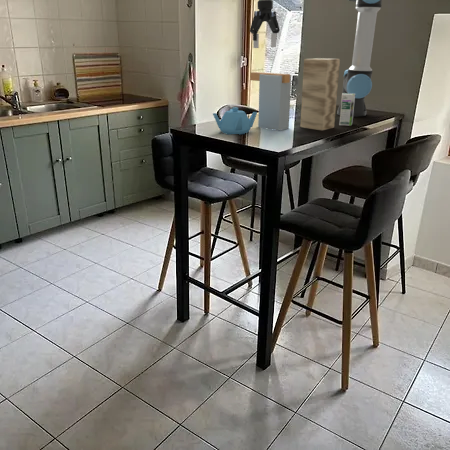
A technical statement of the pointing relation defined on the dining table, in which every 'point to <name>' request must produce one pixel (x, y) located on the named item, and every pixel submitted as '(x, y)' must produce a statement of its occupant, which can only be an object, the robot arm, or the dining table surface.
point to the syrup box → (347, 109)
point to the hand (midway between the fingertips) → (264, 47)
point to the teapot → (235, 121)
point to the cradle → (274, 102)
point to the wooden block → (319, 93)
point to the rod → (256, 75)
